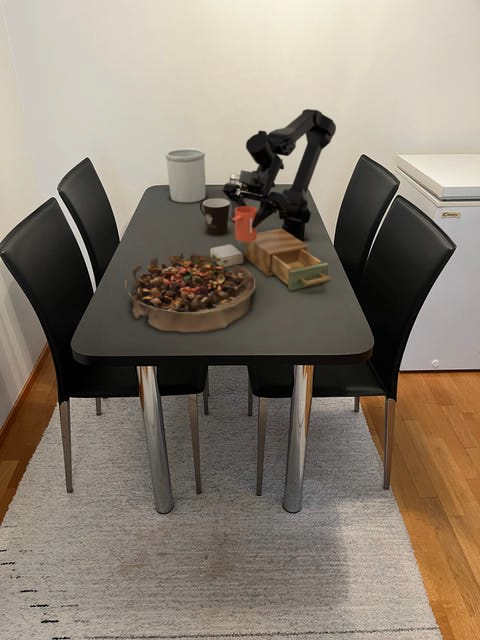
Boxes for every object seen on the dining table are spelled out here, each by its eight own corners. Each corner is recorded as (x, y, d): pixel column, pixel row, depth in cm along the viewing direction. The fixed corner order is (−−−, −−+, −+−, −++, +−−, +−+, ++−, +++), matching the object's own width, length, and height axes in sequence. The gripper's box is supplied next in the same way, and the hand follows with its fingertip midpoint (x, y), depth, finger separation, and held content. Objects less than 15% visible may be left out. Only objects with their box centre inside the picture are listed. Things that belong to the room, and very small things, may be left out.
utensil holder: (164, 202, 193) (160, 156, 183) (174, 191, 205) (170, 146, 196) (202, 204, 191) (200, 157, 182) (209, 192, 203) (208, 148, 194)
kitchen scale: (231, 253, 152) (231, 243, 151) (243, 263, 146) (243, 253, 145) (209, 257, 150) (209, 248, 148) (220, 267, 144) (220, 258, 142)
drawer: (335, 288, 131) (337, 270, 128) (299, 297, 127) (300, 278, 124) (300, 262, 145) (301, 245, 142) (266, 270, 140) (266, 252, 138)
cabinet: (306, 267, 144) (307, 245, 140) (267, 276, 139) (268, 253, 135) (280, 249, 155) (281, 228, 151) (244, 256, 150) (244, 235, 146)
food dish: (141, 268, 145) (139, 243, 141) (255, 271, 145) (256, 246, 141) (110, 330, 115) (106, 299, 111) (254, 334, 114) (256, 304, 110)
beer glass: (246, 222, 174) (247, 179, 167) (227, 221, 176) (226, 178, 168) (250, 215, 180) (250, 173, 172) (231, 214, 181) (231, 172, 174)
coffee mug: (233, 235, 165) (233, 205, 159) (208, 238, 162) (207, 208, 157) (222, 223, 174) (221, 194, 169) (198, 226, 172) (197, 197, 166)
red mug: (243, 232, 142) (243, 204, 137) (260, 236, 139) (261, 208, 135) (226, 241, 136) (225, 213, 131) (243, 246, 133) (243, 217, 129)
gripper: (225, 152, 134) (201, 203, 132) (286, 162, 125) (261, 217, 123) (241, 175, 144) (220, 223, 142) (299, 186, 135) (276, 237, 133)
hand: (243, 225), depth 135 cm, fingers closed on red mug, 6 cm apart
